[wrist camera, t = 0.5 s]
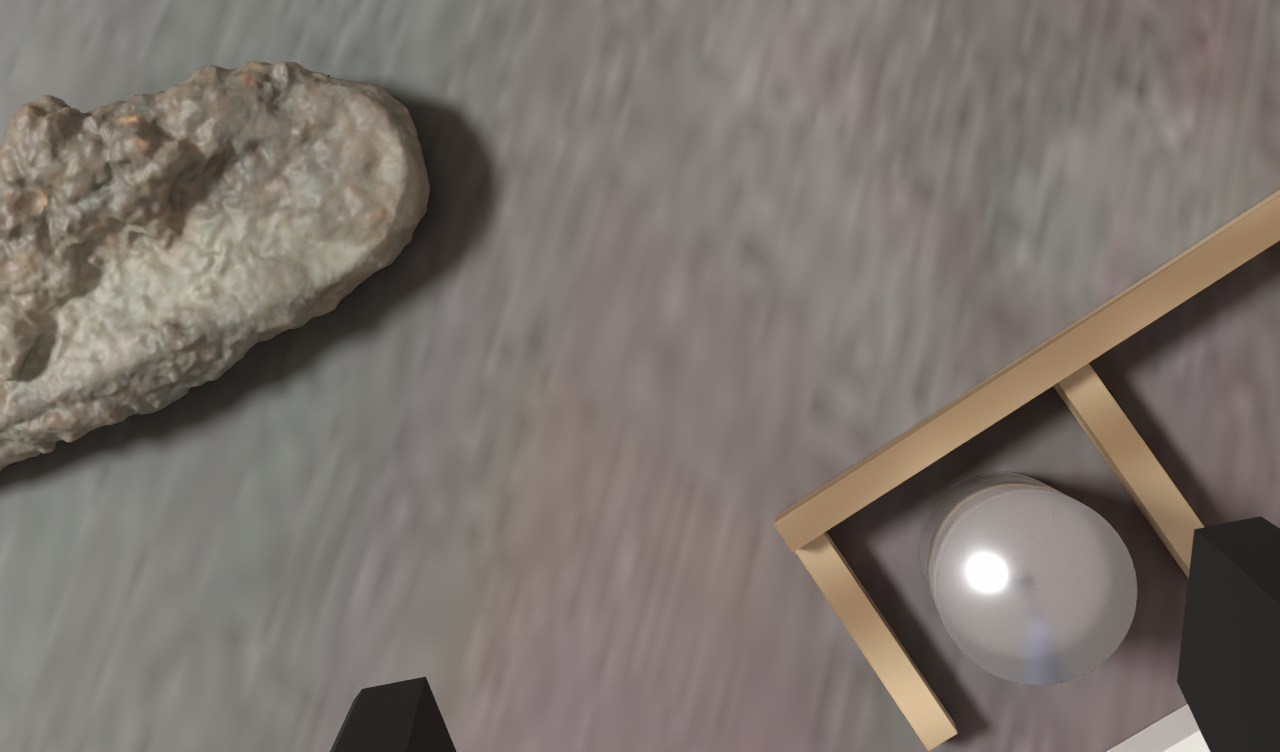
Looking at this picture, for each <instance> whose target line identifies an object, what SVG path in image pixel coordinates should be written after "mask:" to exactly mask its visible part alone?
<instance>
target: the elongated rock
mask: <svg viewBox="0 0 1280 752" xmlns="http://www.w3.org/2000/svg"><path fill="white" fill-rule="evenodd" d="M429 192H430V184H429V180H428V176H427V169H426V165H425V163H424V157H423V154H422V147H421V144H420V142H419V140H418V137H417V131H416V128H415V125H414V123H413V121H412V119H411V117H410V114H409V111H408V110H407V108H406V107H405V106H404V105H403V104H402V103H400V102H399V101H397V100H395V99H394V98H393V97H392V96H391V95H390V93H389V92H387V91H386V90H385V89H384V88H381V87H379V86H374V85H368V84H366V83H364V82H352V81H347V80H343V79H336V78H331V77H330V75H325V74H323V73H318V72H312V71H309V70H307V69H305V68H303V67H302V66H301V65H299V64H298V63H295V62H280V63H277V64H273V65H272V64H269V63H266V62H248V63H247V64H245V65H244V66H242V67H239V68H235V69H230V70H227V69H224V68H222V67H218V66H213V65H210V66H205V67H202V68H199V69H197V70H196V71H195V72H194V73H193V75H191V76H190V77H189V78H187V79H185V80H183V81H181V82H179V83H178V84H177V85H174V86H171V87H170V88H169V89H168V90H167V91H160V92H158V93H157V94H143V95H135V96H134V97H133V98H132V99H131V100H129V101H128V102H124V101H118V102H115V103H112V104H109V105H105V106H102V107H100V108H97V109H93V110H91V111H89V112H88V113H81V112H80V111H79V110H77V109H74V108H70V106H68V105H67V104H65V102H64V101H63V100H61V99H59V98H56V97H54V96H51V95H43V96H41V97H39V98H38V99H37V100H35V101H33V102H30V103H27V104H25V105H22V106H21V107H20V108H19V110H18V112H17V113H16V114H15V115H14V116H13V117H12V119H11V120H10V123H9V128H8V129H7V130H6V134H5V139H4V141H3V143H2V145H1V147H0V471H1V470H2V469H3V468H5V467H6V466H7V465H10V464H11V463H14V462H18V461H23V460H25V459H27V458H30V457H36V456H38V455H39V454H41V452H42V453H43V454H44V453H50V452H52V451H53V450H54V449H55V447H56V442H57V441H60V440H64V441H66V442H73V441H75V440H77V439H79V438H80V437H82V436H83V435H85V434H86V433H87V432H89V431H91V430H94V429H96V428H99V427H102V426H104V425H112V424H115V423H119V422H124V421H125V419H126V418H127V417H128V416H130V415H135V414H148V413H154V412H157V411H158V410H160V409H163V408H165V407H166V406H167V405H169V404H170V403H172V402H173V401H177V400H178V399H179V398H181V397H183V396H185V395H186V394H187V393H188V392H189V389H190V388H191V387H197V386H200V385H202V384H204V383H206V382H208V381H214V380H217V379H218V378H219V377H221V375H222V374H223V373H224V372H226V371H227V370H229V369H230V368H231V367H232V366H233V365H234V364H235V363H236V362H237V361H238V360H240V359H242V358H244V356H245V354H246V352H247V351H248V350H249V349H250V348H251V347H253V346H254V345H255V344H256V343H257V342H262V341H268V340H270V339H272V338H273V337H274V336H275V335H277V334H280V333H281V332H284V331H287V330H288V329H296V328H299V327H301V326H303V325H304V324H305V323H306V322H308V321H309V320H310V319H311V318H313V317H316V316H321V315H324V314H327V313H329V312H331V311H334V310H335V309H336V307H337V306H338V303H339V301H340V300H342V299H343V298H344V297H345V296H347V295H348V294H350V293H352V292H353V290H354V289H355V288H356V287H357V285H359V284H361V283H362V282H363V281H364V280H366V279H367V278H369V277H370V276H371V275H372V274H373V273H375V272H376V271H379V270H381V269H383V268H385V267H386V266H389V265H390V264H392V263H393V262H394V261H395V259H396V257H397V256H399V254H400V253H401V252H402V250H403V248H404V246H405V245H407V244H409V243H410V242H411V241H412V235H413V232H414V230H415V228H416V227H417V225H418V223H419V221H420V220H421V219H422V218H423V216H424V215H425V213H426V211H427V203H428V200H429Z"/></svg>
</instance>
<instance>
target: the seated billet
mask: <svg viewBox="0 0 1280 752" xmlns="http://www.w3.org/2000/svg"><path fill="white" fill-rule="evenodd" d="M919 562H920V567H921V571H922V574H923V577H924V579H925V582H926V584H927V587H928V589H929V591H930V593H931V596H932V598H933V600H934V603H935V605H936V607H937V609H938V612H939V614H940V616H941V619H942V621H943V623H944V626H945V628H946V630H947V631H948V633H949V635H950V636H951V638H952V640H953V641H954V642H955V644H956V645H957V646H958V647H959V649H960V650H961V651H962V652H963V653H964V654H965V655H966V656H967V657H968V658H969V659H970V660H972V661H973V662H974V663H975V664H977V665H978V666H979V667H981V668H983V669H984V670H986V671H988V672H989V673H991V674H993V675H996V676H998V677H1000V678H1002V679H1006V680H1009V681H1012V682H1016V683H1022V684H1028V685H1049V684H1057V683H1062V682H1067V681H1070V680H1073V679H1075V678H1078V677H1081V676H1083V675H1085V674H1087V673H1089V672H1091V671H1092V670H1094V669H1095V668H1097V667H1098V666H1099V665H1101V664H1102V663H1103V662H1105V661H1106V660H1107V659H1108V658H1109V657H1110V656H1111V655H1112V654H1113V653H1114V652H1115V650H1116V649H1117V648H1118V647H1119V646H1120V644H1121V643H1122V641H1123V639H1124V638H1125V636H1126V635H1127V632H1128V630H1129V628H1130V626H1131V623H1132V620H1133V617H1134V613H1135V610H1136V602H1137V580H1136V573H1135V569H1134V565H1133V562H1132V559H1131V556H1130V554H1129V552H1128V549H1127V547H1126V546H1125V544H1124V542H1123V541H1122V539H1121V537H1120V536H1119V535H1118V533H1117V532H1116V531H1115V530H1114V528H1113V527H1112V526H1111V525H1110V524H1109V523H1108V522H1107V521H1106V520H1105V519H1104V518H1103V517H1102V516H1101V515H1099V514H1098V513H1096V512H1095V511H1094V510H1092V509H1091V508H1089V507H1088V506H1086V505H1084V504H1082V503H1080V502H1079V501H1077V500H1075V499H1073V498H1071V497H1069V496H1067V495H1065V494H1063V493H1061V492H1059V491H1058V490H1056V489H1054V488H1052V487H1050V486H1048V485H1046V484H1044V483H1042V482H1040V481H1038V480H1036V479H1034V478H1031V477H1029V476H1026V475H1022V474H1018V473H1013V472H987V473H981V474H977V475H974V476H971V477H968V478H966V479H963V480H962V481H960V482H958V483H956V484H954V485H953V486H952V487H950V488H949V489H948V490H946V491H945V492H944V493H943V494H942V495H941V496H940V497H939V498H938V499H937V500H936V502H935V503H934V504H933V505H932V507H931V509H930V510H929V512H928V514H927V516H926V518H925V520H924V523H923V525H922V529H921V532H920V538H919Z"/></svg>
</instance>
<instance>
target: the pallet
mask: <svg viewBox="0 0 1280 752" xmlns="http://www.w3.org/2000/svg"><path fill="white" fill-rule="evenodd" d="M1279 240H1280V190H1278V191H1277V192H1275V193H1274V194H1272V195H1270V196H1269V197H1267V198H1266V199H1264V200H1263V201H1261V202H1260V203H1258V204H1257V205H1255V206H1253V207H1252V208H1250V209H1249V210H1247V211H1246V212H1244V213H1243V214H1241V215H1240V216H1238V217H1237V218H1235V219H1233V220H1232V221H1230V222H1229V223H1227V224H1226V225H1224V226H1223V227H1221V228H1220V229H1218V230H1216V231H1215V232H1213V233H1212V234H1210V235H1209V236H1207V237H1206V238H1204V239H1203V240H1201V241H1199V242H1198V243H1196V244H1195V245H1193V246H1192V247H1190V248H1189V249H1187V250H1186V251H1184V252H1183V253H1181V254H1179V255H1178V256H1176V257H1175V258H1173V259H1172V260H1170V261H1169V262H1167V263H1166V264H1164V265H1162V266H1161V267H1159V268H1158V269H1156V270H1155V271H1153V272H1152V273H1150V274H1149V275H1147V276H1145V277H1144V278H1142V279H1141V280H1139V281H1138V282H1136V283H1135V284H1133V285H1132V286H1130V287H1129V288H1127V289H1125V290H1124V291H1122V292H1121V293H1119V294H1118V295H1116V296H1115V297H1113V298H1112V299H1110V300H1108V301H1107V302H1105V303H1104V304H1102V305H1101V306H1099V307H1098V308H1096V309H1095V310H1093V311H1092V312H1090V313H1088V314H1087V315H1085V316H1084V317H1082V318H1081V319H1079V320H1078V321H1076V322H1075V323H1073V324H1071V325H1070V326H1068V327H1067V328H1065V329H1064V330H1062V331H1061V332H1059V333H1058V334H1056V335H1054V336H1053V337H1051V338H1050V339H1048V340H1047V341H1045V342H1044V343H1042V344H1041V345H1039V346H1038V347H1036V348H1034V349H1033V350H1031V351H1030V352H1028V353H1027V354H1025V355H1024V356H1022V357H1021V358H1019V359H1017V360H1016V361H1014V362H1013V363H1011V364H1010V365H1008V366H1007V367H1005V368H1004V369H1002V370H1000V371H999V372H997V373H996V374H994V375H993V376H991V377H990V378H988V379H987V380H985V381H984V382H982V383H980V384H979V385H977V386H976V387H974V388H973V389H971V390H970V391H968V392H967V393H965V394H963V395H962V396H960V397H959V398H957V399H956V400H954V401H953V402H951V403H950V404H948V405H947V406H945V407H943V408H942V409H940V410H939V411H937V412H936V413H934V414H933V415H931V416H930V417H928V418H926V419H925V420H923V421H922V422H920V423H919V424H917V425H916V426H914V427H913V428H911V429H909V430H908V431H906V432H905V433H903V434H902V435H900V436H899V437H897V438H896V439H894V440H893V441H891V442H889V443H888V444H886V445H885V446H883V447H882V448H880V449H879V450H877V451H876V452H874V453H872V454H871V455H869V456H868V457H866V458H865V459H863V460H862V461H860V462H859V463H857V464H855V465H854V466H852V467H851V468H849V469H848V470H846V471H845V472H843V473H842V474H840V475H839V476H837V477H835V478H834V479H832V480H831V481H829V482H828V483H826V484H825V485H823V486H822V487H820V488H818V489H817V490H815V491H814V492H812V493H811V494H809V495H808V496H806V497H805V498H803V499H802V500H800V501H798V502H797V503H795V504H794V505H792V506H791V507H789V508H788V509H786V510H785V511H783V512H781V513H780V514H778V515H777V516H776V518H775V521H774V523H773V524H774V526H775V527H776V529H777V530H778V532H779V533H780V535H781V536H782V538H783V539H784V541H785V542H786V544H787V545H788V547H789V548H790V550H791V551H792V553H793V552H796V553H797V555H798V556H799V558H800V559H801V561H802V562H803V564H804V565H805V567H806V568H807V570H808V571H809V573H810V574H811V576H812V577H813V579H814V580H815V582H816V583H817V585H818V586H819V588H820V589H821V591H822V592H823V594H824V595H825V597H826V598H827V600H828V601H829V603H830V604H831V606H832V607H833V609H834V610H835V612H836V613H837V615H838V616H839V618H840V619H841V621H842V622H843V624H844V625H845V627H846V628H847V630H848V631H849V633H850V634H851V636H852V637H853V639H854V640H855V642H856V643H857V645H858V646H859V648H860V649H861V651H862V652H863V654H864V655H865V657H866V658H867V660H868V661H869V663H870V664H871V666H872V667H873V669H874V670H875V672H876V673H877V675H878V676H879V678H880V679H881V681H882V682H883V684H884V685H885V687H886V688H887V690H888V691H889V693H890V694H891V696H892V697H893V699H894V700H895V702H896V703H897V705H898V706H899V708H900V709H901V711H902V712H903V714H904V715H905V717H906V718H907V720H908V721H909V723H910V724H911V726H912V727H913V729H914V730H915V732H916V733H917V735H918V736H919V738H920V739H921V741H922V742H923V744H924V745H925V747H926V748H927V750H928V751H929V750H931V749H933V748H934V747H936V746H938V745H939V744H941V743H943V742H944V741H946V740H948V739H949V738H951V737H953V736H954V735H956V734H958V733H957V730H956V727H955V724H954V721H953V720H952V718H951V717H950V715H949V714H948V712H947V711H946V709H945V708H944V706H943V705H942V703H941V702H940V700H939V699H938V697H937V696H936V694H935V693H934V691H933V690H932V688H931V687H930V685H929V684H928V682H927V681H926V679H925V678H924V676H923V675H922V673H921V672H920V670H919V669H918V667H917V666H916V664H915V663H914V661H913V660H912V658H911V657H910V655H909V654H908V652H907V651H906V650H905V648H904V647H903V645H902V644H901V642H900V641H899V639H898V638H897V636H896V635H895V633H894V632H893V630H892V629H891V627H890V626H889V624H888V623H887V621H886V620H885V618H884V617H883V615H882V614H881V612H880V611H879V609H878V608H877V606H876V605H875V603H874V602H873V600H872V599H871V597H870V596H869V594H868V593H867V591H866V590H865V588H864V587H863V585H862V584H861V582H860V581H859V579H858V578H857V576H856V575H855V573H854V572H853V570H852V569H851V568H850V566H849V565H848V563H847V562H846V560H845V559H844V557H843V556H842V554H841V553H840V551H839V550H838V548H837V547H836V545H835V544H834V542H833V541H832V539H831V538H830V536H829V535H828V533H827V532H826V531H827V530H829V529H831V528H832V527H834V526H835V525H837V524H838V523H840V522H841V521H843V520H845V519H846V518H848V517H849V516H851V515H852V514H854V513H855V512H857V511H859V510H860V509H862V508H863V507H865V506H866V505H868V504H869V503H871V502H873V501H874V500H876V499H877V498H879V497H880V496H882V495H884V494H885V493H887V492H888V491H890V490H891V489H893V488H894V487H896V486H898V485H899V484H901V483H902V482H904V481H905V480H907V479H908V478H910V477H912V476H913V475H915V474H916V473H918V472H919V471H921V470H922V469H924V468H926V467H927V466H929V465H930V464H932V463H933V462H935V461H937V460H938V459H940V458H941V457H943V456H944V455H946V454H947V453H949V452H951V451H952V450H954V449H955V448H957V447H958V446H960V445H961V444H963V443H965V442H966V441H968V440H969V439H971V438H972V437H974V436H975V435H977V434H979V433H980V432H982V431H983V430H985V429H986V428H988V427H990V426H991V425H993V424H994V423H996V422H997V421H999V420H1000V419H1002V418H1004V417H1005V416H1007V415H1008V414H1010V413H1011V412H1013V411H1014V410H1016V409H1018V408H1019V407H1021V406H1022V405H1024V404H1025V403H1027V402H1028V401H1030V400H1032V399H1033V398H1035V397H1036V396H1038V395H1039V394H1041V393H1043V392H1044V391H1046V390H1047V389H1049V388H1050V387H1052V386H1053V387H1054V388H1055V390H1056V391H1057V392H1058V394H1059V395H1060V397H1061V398H1062V400H1063V401H1064V402H1065V404H1066V405H1067V407H1068V408H1069V409H1070V411H1071V412H1072V414H1073V415H1074V417H1075V418H1076V419H1077V421H1078V422H1079V424H1080V425H1081V427H1082V428H1083V429H1084V431H1085V432H1086V434H1087V435H1088V437H1089V438H1090V439H1091V441H1092V442H1093V444H1094V445H1095V447H1096V448H1097V449H1098V451H1099V452H1100V454H1101V455H1102V457H1103V458H1104V459H1105V461H1106V462H1107V464H1108V465H1109V467H1110V468H1111V469H1112V471H1113V472H1114V474H1115V475H1116V477H1117V478H1118V479H1119V481H1120V482H1121V484H1122V485H1123V486H1124V488H1125V489H1126V491H1127V492H1128V494H1129V495H1130V496H1131V498H1132V499H1133V501H1134V502H1135V504H1136V505H1137V506H1138V508H1139V509H1140V511H1141V512H1142V514H1143V515H1144V516H1145V518H1146V519H1147V521H1148V522H1149V524H1150V525H1151V526H1152V528H1153V529H1154V531H1155V532H1156V534H1157V535H1158V536H1159V538H1160V539H1161V541H1162V542H1163V544H1164V545H1165V546H1166V548H1167V549H1168V551H1169V552H1170V554H1171V555H1172V556H1173V558H1174V559H1175V561H1176V562H1177V563H1178V565H1179V566H1180V568H1181V569H1182V571H1183V572H1184V573H1185V575H1186V576H1187V578H1188V579H1189V571H1190V562H1191V553H1192V544H1193V535H1194V529H1198V528H1204V526H1203V524H1202V523H1201V522H1200V520H1199V519H1198V517H1197V516H1196V515H1195V513H1194V512H1193V510H1192V509H1191V507H1190V506H1189V505H1188V503H1187V502H1186V500H1185V499H1184V498H1183V496H1182V495H1181V493H1180V492H1179V490H1178V489H1177V488H1176V486H1175V485H1174V483H1173V482H1172V481H1171V479H1170V478H1169V476H1168V475H1167V473H1166V472H1165V471H1164V469H1163V468H1162V466H1161V465H1160V464H1159V462H1158V461H1157V459H1156V458H1155V456H1154V455H1153V454H1152V452H1151V451H1150V449H1149V448H1148V447H1147V445H1146V444H1145V442H1144V441H1143V439H1142V438H1141V437H1140V435H1139V434H1138V432H1137V431H1136V430H1135V428H1134V427H1133V425H1132V424H1131V423H1130V421H1129V420H1128V418H1127V417H1126V415H1125V414H1124V413H1123V411H1122V410H1121V408H1120V407H1119V406H1118V404H1117V403H1116V401H1115V400H1114V398H1113V397H1112V396H1111V394H1110V393H1109V391H1108V390H1107V389H1106V387H1105V386H1104V384H1103V383H1102V381H1101V380H1100V379H1099V377H1098V376H1097V374H1096V373H1095V372H1094V370H1093V369H1092V367H1091V366H1090V364H1089V362H1091V361H1092V360H1094V359H1096V358H1097V357H1099V356H1100V355H1102V354H1103V353H1105V352H1106V351H1108V350H1110V349H1111V348H1113V347H1114V346H1116V345H1117V344H1119V343H1120V342H1122V341H1124V340H1125V339H1127V338H1128V337H1130V336H1131V335H1133V334H1134V333H1136V332H1138V331H1139V330H1141V329H1142V328H1144V327H1145V326H1147V325H1149V324H1150V323H1152V322H1153V321H1155V320H1156V319H1158V318H1159V317H1161V316H1163V315H1164V314H1166V313H1167V312H1169V311H1170V310H1172V309H1173V308H1175V307H1177V306H1178V305H1180V304H1181V303H1183V302H1184V301H1186V300H1187V299H1189V298H1191V297H1192V296H1194V295H1195V294H1197V293H1198V292H1200V291H1202V290H1203V289H1205V288H1206V287H1208V286H1209V285H1211V284H1212V283H1214V282H1216V281H1217V280H1219V279H1220V278H1222V277H1223V276H1225V275H1226V274H1228V273H1230V272H1231V271H1233V270H1234V269H1236V268H1237V267H1239V266H1240V265H1242V264H1244V263H1245V262H1247V261H1248V260H1250V259H1251V258H1253V257H1255V256H1256V255H1258V254H1259V253H1261V252H1262V251H1264V250H1265V249H1267V248H1269V247H1270V246H1272V245H1273V244H1275V243H1276V242H1278V241H1279Z"/></svg>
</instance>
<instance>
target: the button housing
mask: <svg viewBox="0 0 1280 752" xmlns="http://www.w3.org/2000/svg"><path fill="white" fill-rule="evenodd" d="M1107 752H1210V750H1209V748H1208V746H1207V744H1206V742H1205V740H1204V738H1203V736H1202V734H1201V732H1200V729H1199V727H1198V725H1197V723H1196V721H1195V719H1194V717H1193V714H1192V712H1191V710H1190V708H1189V706H1188V704H1187V705H1185V706H1183V707H1182V708H1180V709H1178V710H1176V711H1175V712H1173V713H1171V714H1170V715H1168V716H1166V717H1164V718H1163V719H1161V720H1159V721H1158V722H1156V723H1154V724H1153V725H1151V726H1149V727H1147V728H1146V729H1144V730H1142V731H1141V732H1139V733H1137V734H1136V735H1134V736H1132V737H1130V738H1129V739H1127V740H1125V741H1124V742H1122V743H1120V744H1118V745H1117V746H1115V747H1113V748H1112V749H1110V750H1108V751H1107Z"/></svg>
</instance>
